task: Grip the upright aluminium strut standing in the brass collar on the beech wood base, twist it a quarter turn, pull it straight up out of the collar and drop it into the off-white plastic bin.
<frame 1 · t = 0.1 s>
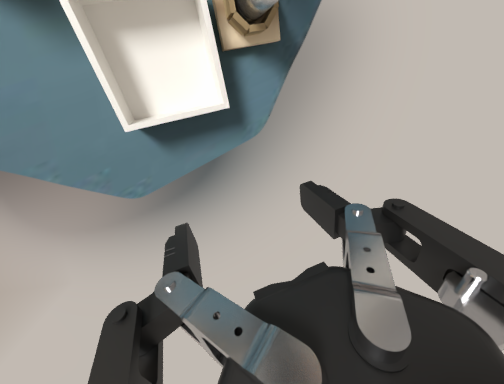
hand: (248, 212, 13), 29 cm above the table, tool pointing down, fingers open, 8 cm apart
bin: (161, 62, 31), on the table
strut: (247, 4, 30), point 1 cm above the table, touching socket base
socket base: (244, 8, 31), on the table
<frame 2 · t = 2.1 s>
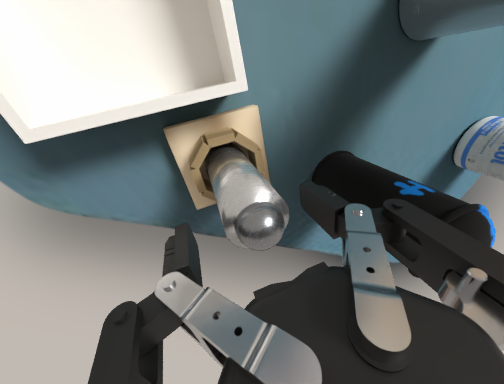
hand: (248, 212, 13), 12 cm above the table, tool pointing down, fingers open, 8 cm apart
supplement tub: (470, 142, 37), on the table
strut: (224, 161, 23), point 1 cm above the table, touching socket base
socket base: (222, 157, 24), on the table
aerosol can: (333, 175, 31), on the table
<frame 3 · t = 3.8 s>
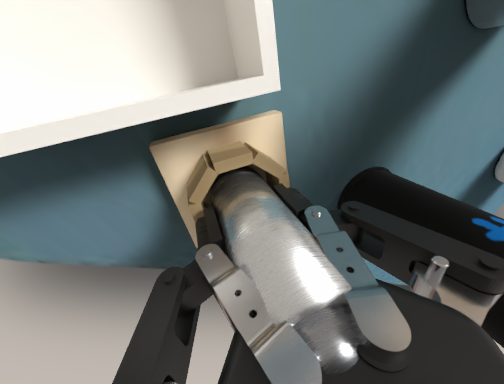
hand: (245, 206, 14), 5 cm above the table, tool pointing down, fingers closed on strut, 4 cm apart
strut: (234, 186, 17), point 1 cm above the table, touching gripper, socket base
socket base: (230, 179, 18), on the table
aerosol can: (363, 195, 25), on the table
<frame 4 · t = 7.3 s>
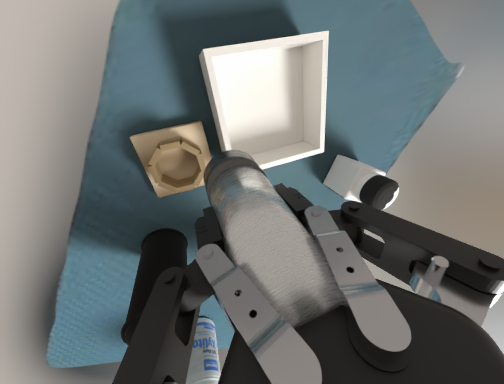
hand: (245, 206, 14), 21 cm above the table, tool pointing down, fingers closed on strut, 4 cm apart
bin: (260, 107, 32), on the table
supplement tub: (195, 326, 53), on the table
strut: (231, 175, 16), point 18 cm above the table, tilted 7°, touching gripper
socket base: (178, 158, 32), on the table
medicine bottle: (340, 172, 44), on the table
aerosol can: (165, 244, 39), on the table
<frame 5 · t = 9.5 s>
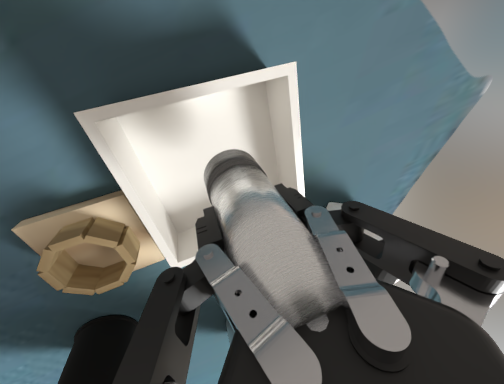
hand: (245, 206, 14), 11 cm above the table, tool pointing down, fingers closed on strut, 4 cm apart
bin: (215, 161, 23), on the table
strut: (231, 175, 16), point 7 cm above the table, tilted 8°, touching gripper
socket base: (104, 238, 23), on the table
medicine bottle: (334, 219, 35), on the table
aerosol can: (109, 331, 30), on the table
when the fingers open (6 cm above the table, at t = 11.1 s): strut drops 2 cm, resting on bin.
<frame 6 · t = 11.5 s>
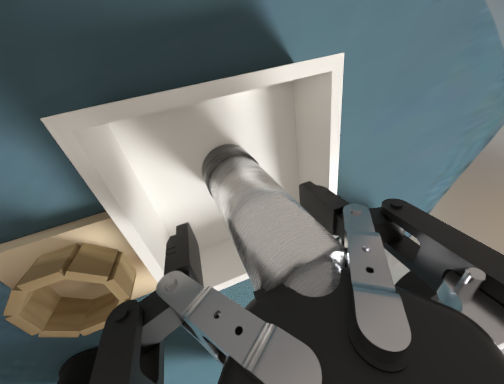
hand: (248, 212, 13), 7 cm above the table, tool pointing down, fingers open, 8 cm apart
bin: (227, 174, 19), on the table
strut: (227, 168, 18), point 1 cm above the table, tilted 7°, touching bin
socket base: (93, 264, 19), on the table
medicine bottle: (354, 236, 31), on the table
aerosol can: (101, 362, 26), on the table
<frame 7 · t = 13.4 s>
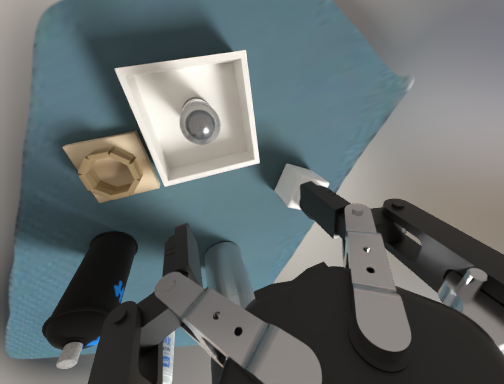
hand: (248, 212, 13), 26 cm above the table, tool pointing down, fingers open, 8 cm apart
bin: (198, 118, 33), on the table
supplement tub: (156, 324, 55), on the table
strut: (197, 112, 32), point 1 cm above the table, touching bin
socket base: (118, 166, 33), on the table
medicine bottle: (292, 180, 46), on the table
aerosol can: (115, 246, 40), on the table
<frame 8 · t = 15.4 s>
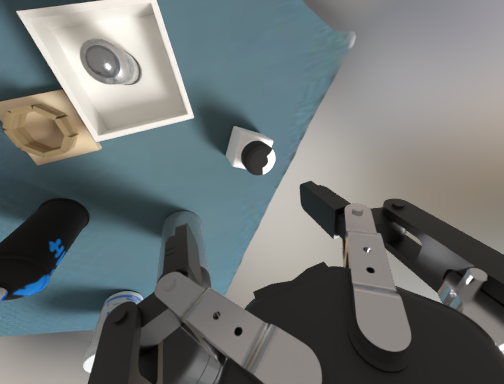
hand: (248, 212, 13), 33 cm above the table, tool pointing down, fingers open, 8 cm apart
bin: (130, 76, 34), on the table
supplement tub: (124, 300, 56), on the table
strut: (126, 69, 32), point 1 cm above the table, touching bin
socket base: (54, 127, 34), on the table
medicine bottle: (243, 144, 46), on the table
aerosol can: (65, 214, 41), on the table
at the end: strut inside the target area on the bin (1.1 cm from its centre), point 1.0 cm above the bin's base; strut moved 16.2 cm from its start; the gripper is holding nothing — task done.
